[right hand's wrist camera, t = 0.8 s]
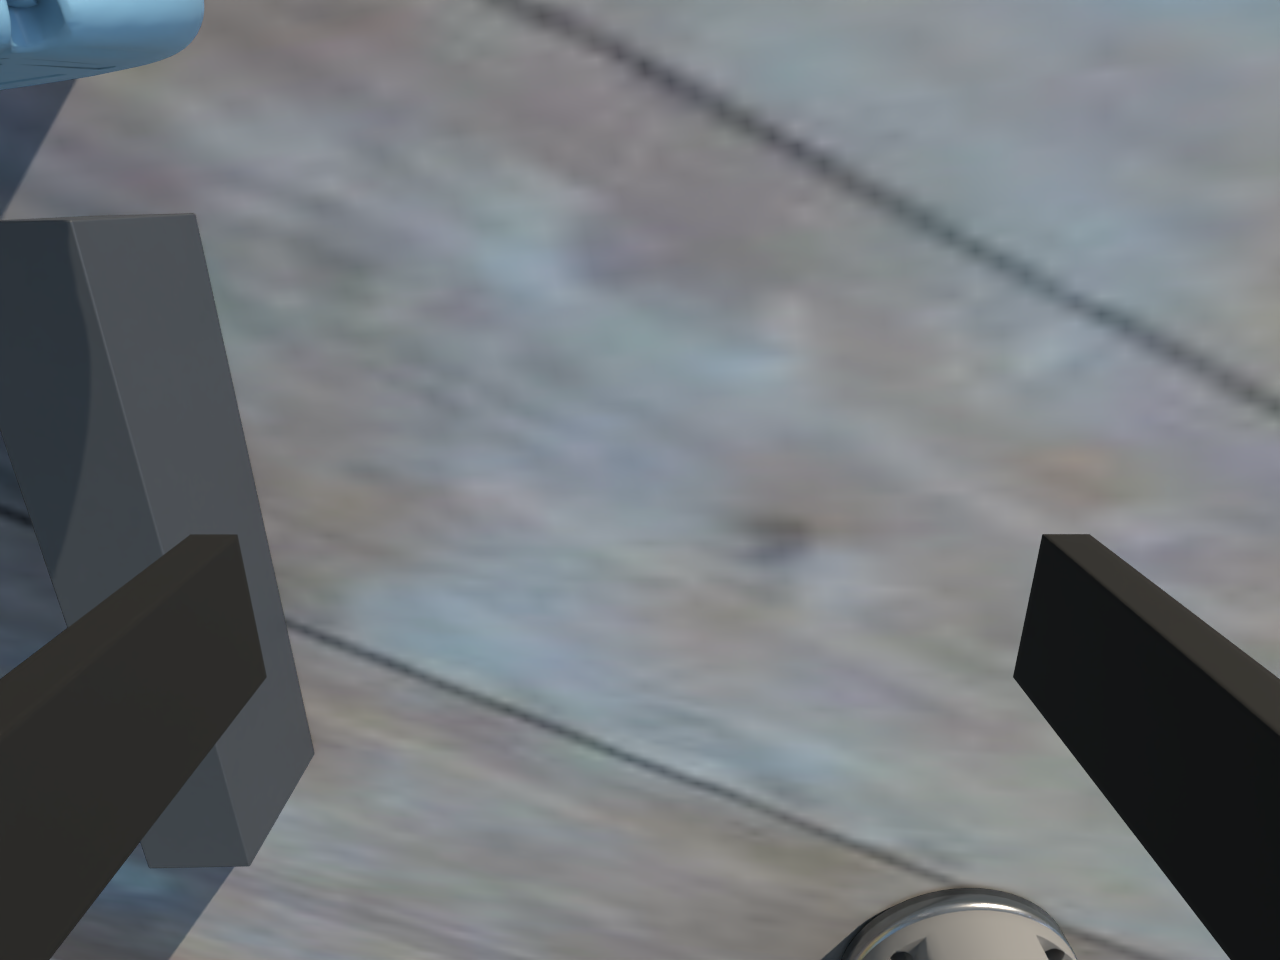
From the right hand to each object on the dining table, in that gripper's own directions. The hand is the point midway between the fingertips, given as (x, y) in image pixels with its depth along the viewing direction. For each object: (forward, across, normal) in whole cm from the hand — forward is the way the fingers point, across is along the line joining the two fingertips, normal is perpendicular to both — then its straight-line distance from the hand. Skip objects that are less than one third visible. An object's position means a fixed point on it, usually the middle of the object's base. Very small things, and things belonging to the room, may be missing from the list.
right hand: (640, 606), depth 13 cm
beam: (+25, +22, +10) cm, 35 cm away
